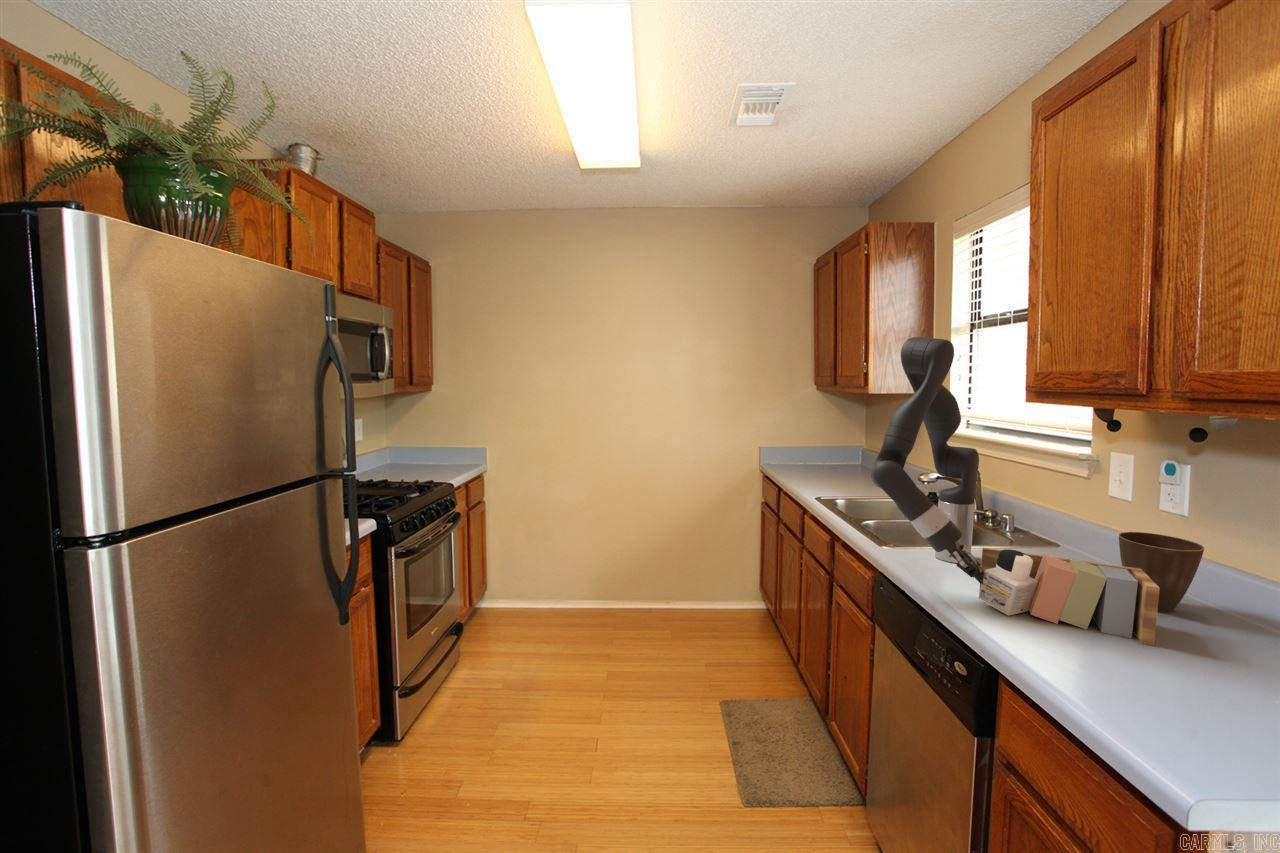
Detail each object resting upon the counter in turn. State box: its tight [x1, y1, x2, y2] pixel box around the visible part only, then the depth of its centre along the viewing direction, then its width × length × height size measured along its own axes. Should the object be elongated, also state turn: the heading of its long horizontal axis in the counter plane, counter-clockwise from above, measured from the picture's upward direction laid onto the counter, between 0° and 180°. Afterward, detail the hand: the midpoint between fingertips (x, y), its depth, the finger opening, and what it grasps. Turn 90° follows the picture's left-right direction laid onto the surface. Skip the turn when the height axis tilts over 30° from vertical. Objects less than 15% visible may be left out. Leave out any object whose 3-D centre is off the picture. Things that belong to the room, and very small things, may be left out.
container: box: [977, 549, 1038, 616], centre depth 132 cm, size 8×8×13 cm
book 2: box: [1059, 557, 1107, 630], centre depth 127 cm, size 9×5×12 cm, turn 151°
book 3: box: [1092, 565, 1138, 639], centre depth 124 cm, size 9×5×12 cm, turn 151°
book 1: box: [1028, 553, 1076, 625], centre depth 130 cm, size 9×5×12 cm, turn 152°
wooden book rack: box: [979, 547, 1160, 647], centre depth 128 cm, size 14×30×12 cm, turn 61°
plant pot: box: [1118, 531, 1205, 613], centre depth 136 cm, size 15×15×16 cm
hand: (990, 586), depth 135 cm, fingers closed
